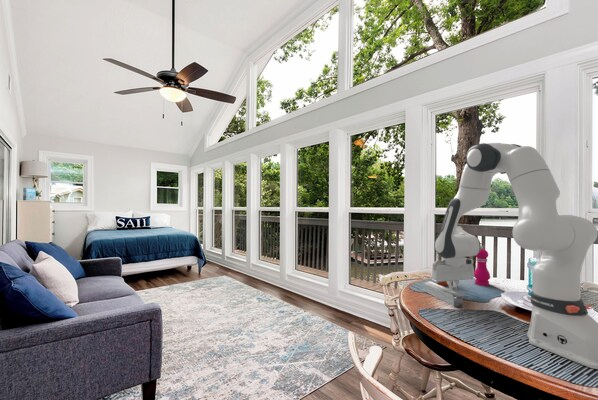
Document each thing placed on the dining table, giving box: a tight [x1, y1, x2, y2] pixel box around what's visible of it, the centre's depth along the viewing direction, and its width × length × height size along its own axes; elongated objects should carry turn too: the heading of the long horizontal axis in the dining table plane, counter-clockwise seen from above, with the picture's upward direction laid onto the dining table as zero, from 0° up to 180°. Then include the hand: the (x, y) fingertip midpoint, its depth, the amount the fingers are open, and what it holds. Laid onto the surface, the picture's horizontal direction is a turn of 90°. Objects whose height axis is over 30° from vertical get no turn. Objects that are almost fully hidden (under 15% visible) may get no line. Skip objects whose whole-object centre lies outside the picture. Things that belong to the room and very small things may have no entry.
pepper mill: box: [474, 245, 491, 287], centre depth 150 cm, size 7×7×20 cm
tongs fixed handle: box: [422, 282, 463, 309], centre depth 128 cm, size 24×3×4 cm, turn 10°
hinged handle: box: [426, 281, 468, 298], centre depth 128 cm, size 24×4×5 cm, turn 11°
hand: (452, 289), depth 132 cm, fingers closed
